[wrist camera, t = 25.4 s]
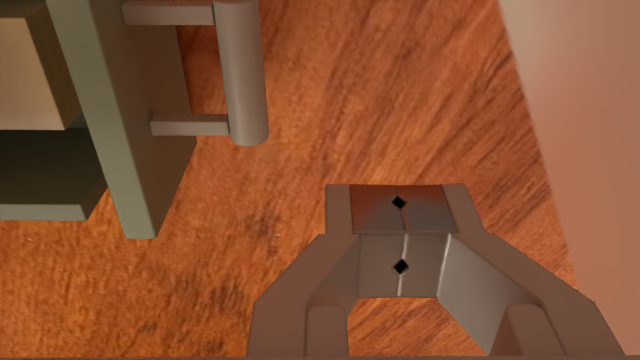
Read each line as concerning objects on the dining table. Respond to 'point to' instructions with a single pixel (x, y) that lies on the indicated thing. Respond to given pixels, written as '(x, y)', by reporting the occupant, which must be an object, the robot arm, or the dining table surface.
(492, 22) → the dining table surface
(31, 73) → the block
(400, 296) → the robot arm
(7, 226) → the dining table surface
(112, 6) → the drawer
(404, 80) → the dining table surface
